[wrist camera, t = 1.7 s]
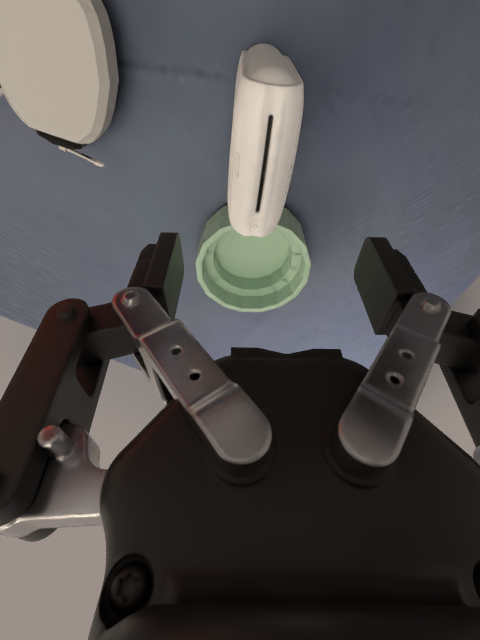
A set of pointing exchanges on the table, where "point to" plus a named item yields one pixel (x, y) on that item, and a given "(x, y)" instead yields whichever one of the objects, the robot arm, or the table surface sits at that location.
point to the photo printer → (263, 139)
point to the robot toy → (59, 68)
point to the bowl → (252, 264)
